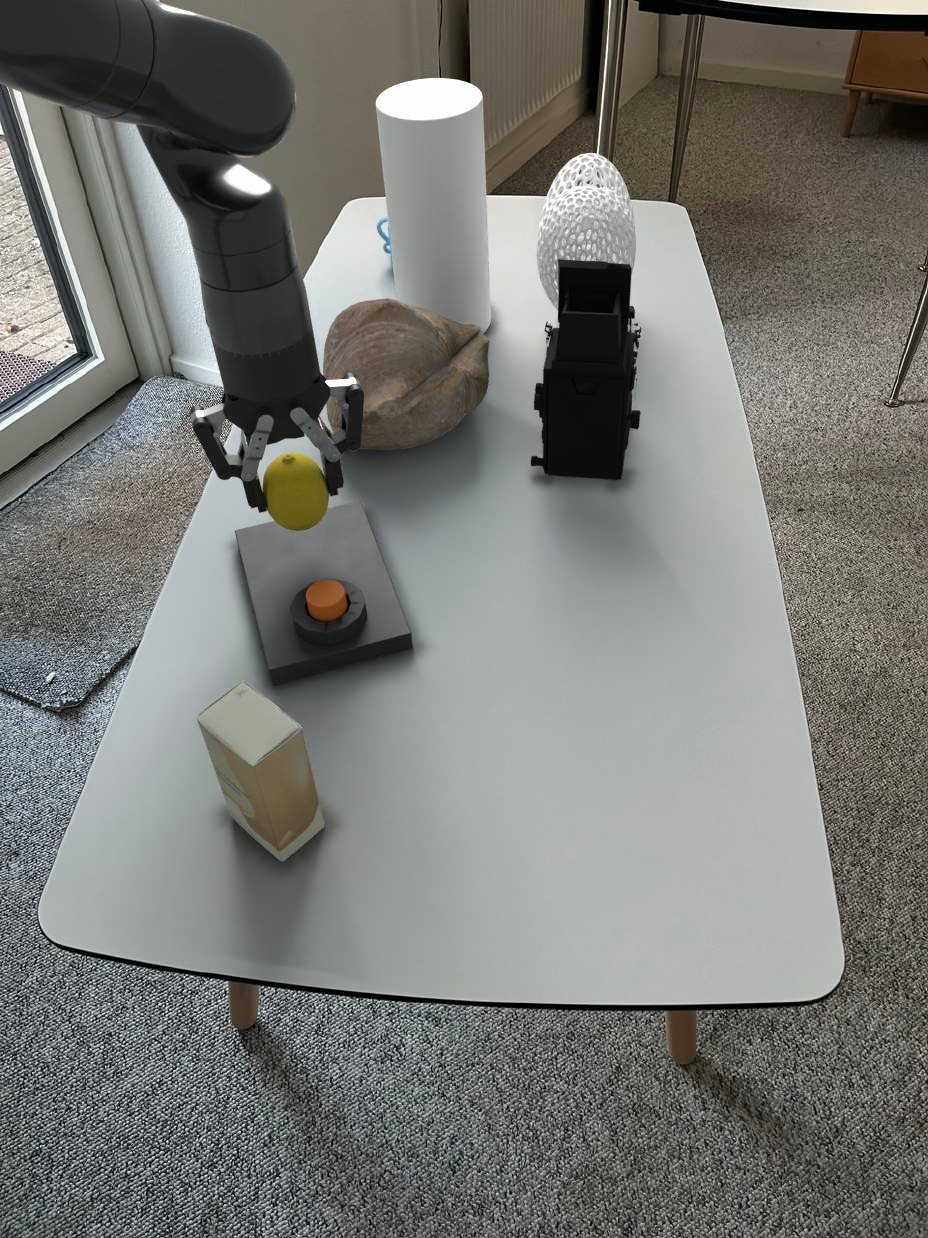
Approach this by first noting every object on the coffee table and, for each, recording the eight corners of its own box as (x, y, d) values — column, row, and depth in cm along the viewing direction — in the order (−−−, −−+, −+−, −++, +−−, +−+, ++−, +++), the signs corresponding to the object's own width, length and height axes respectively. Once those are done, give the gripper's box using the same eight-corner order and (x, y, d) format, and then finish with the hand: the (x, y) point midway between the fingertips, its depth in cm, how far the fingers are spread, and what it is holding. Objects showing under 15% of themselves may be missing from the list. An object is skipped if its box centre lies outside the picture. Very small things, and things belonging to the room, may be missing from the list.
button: (313, 625, 88) (309, 611, 86) (305, 599, 90) (302, 584, 89) (351, 616, 88) (348, 601, 87) (342, 590, 90) (339, 575, 89)
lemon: (264, 547, 93) (245, 474, 87) (282, 505, 96) (265, 433, 90) (325, 552, 92) (311, 479, 86) (341, 509, 95) (328, 437, 90)
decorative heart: (631, 366, 116) (642, 215, 104) (533, 365, 117) (532, 215, 105) (629, 281, 129) (639, 136, 116) (540, 281, 130) (540, 138, 117)
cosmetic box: (228, 816, 79) (189, 714, 70) (273, 779, 81) (241, 675, 72) (284, 867, 76) (251, 766, 67) (330, 827, 78) (303, 725, 69)
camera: (642, 404, 111) (657, 220, 97) (632, 488, 102) (648, 298, 88) (546, 398, 113) (547, 216, 98) (529, 480, 104) (527, 292, 89)
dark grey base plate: (272, 685, 88) (264, 657, 85) (238, 545, 100) (230, 516, 97) (413, 648, 90) (409, 619, 87) (363, 515, 102) (358, 486, 99)
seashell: (528, 322, 108) (413, 246, 99) (494, 475, 104) (372, 411, 95) (432, 356, 120) (322, 292, 111) (399, 494, 117) (283, 439, 108)
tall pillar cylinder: (384, 337, 123) (357, 113, 105) (422, 291, 129) (402, 72, 111) (470, 353, 120) (457, 125, 101) (504, 305, 126) (498, 82, 108)
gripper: (168, 369, 76) (220, 546, 88) (366, 328, 78) (389, 505, 90) (157, 317, 81) (207, 490, 93) (343, 280, 83) (368, 454, 95)
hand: (297, 497), depth 91 cm, fingers closed on lemon, 5 cm apart
